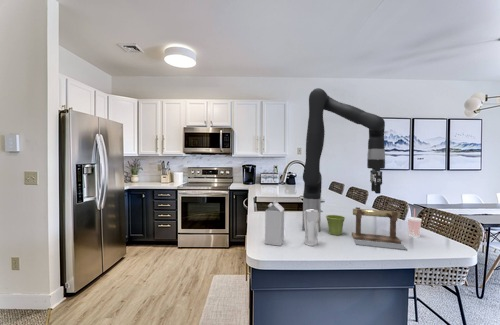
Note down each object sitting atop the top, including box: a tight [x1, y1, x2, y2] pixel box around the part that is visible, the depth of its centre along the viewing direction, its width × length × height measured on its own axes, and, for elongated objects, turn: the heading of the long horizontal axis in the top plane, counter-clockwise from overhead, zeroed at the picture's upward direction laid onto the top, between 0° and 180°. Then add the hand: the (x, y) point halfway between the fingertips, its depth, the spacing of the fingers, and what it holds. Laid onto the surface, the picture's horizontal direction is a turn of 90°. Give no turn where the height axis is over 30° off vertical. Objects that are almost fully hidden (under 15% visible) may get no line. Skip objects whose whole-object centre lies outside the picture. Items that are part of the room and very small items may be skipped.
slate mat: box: [353, 239, 408, 251], centre depth 106 cm, size 20×6×1 cm, turn 73°
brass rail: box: [352, 208, 401, 219], centre depth 114 cm, size 20×3×3 cm, turn 73°
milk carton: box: [264, 199, 285, 247], centre depth 107 cm, size 7×7×19 cm
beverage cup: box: [406, 208, 423, 239], centre depth 120 cm, size 6×6×14 cm
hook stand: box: [351, 206, 402, 245], centre depth 114 cm, size 20×7×14 cm, turn 73°
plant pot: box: [325, 214, 346, 236], centre depth 122 cm, size 9×9×9 cm
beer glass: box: [304, 209, 321, 247], centre depth 107 cm, size 7×7×15 cm
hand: (375, 192), depth 114 cm, fingers open, 8 cm apart
